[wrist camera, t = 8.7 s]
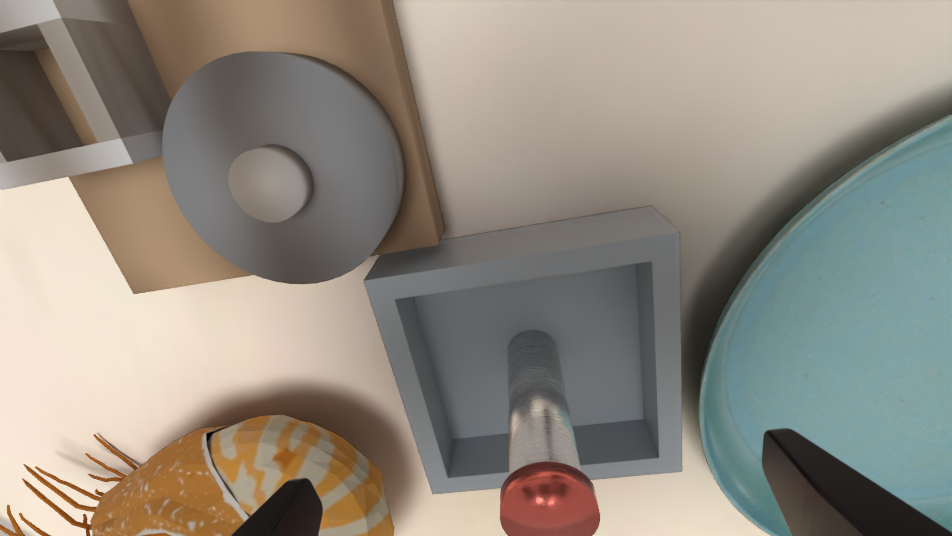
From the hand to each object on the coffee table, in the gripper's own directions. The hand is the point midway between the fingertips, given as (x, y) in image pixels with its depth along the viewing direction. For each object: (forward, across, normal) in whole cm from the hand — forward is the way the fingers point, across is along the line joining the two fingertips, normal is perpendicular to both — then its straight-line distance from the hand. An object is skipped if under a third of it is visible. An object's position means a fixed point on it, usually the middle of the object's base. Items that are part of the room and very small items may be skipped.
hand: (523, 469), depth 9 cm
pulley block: (+12, +10, -7) cm, 17 cm away
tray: (+12, 0, +6) cm, 14 cm away
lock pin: (+12, 0, +6) cm, 13 cm away
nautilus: (+12, +19, +11) cm, 25 cm away
